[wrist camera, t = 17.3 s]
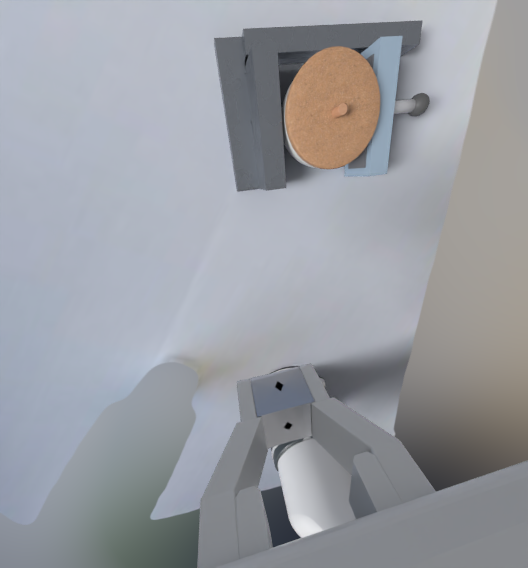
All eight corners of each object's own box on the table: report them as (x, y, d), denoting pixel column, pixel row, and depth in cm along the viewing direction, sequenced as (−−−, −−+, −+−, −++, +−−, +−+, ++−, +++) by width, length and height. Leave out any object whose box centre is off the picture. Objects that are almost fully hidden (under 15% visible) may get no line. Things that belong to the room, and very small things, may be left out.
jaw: (401, 168, 36) (435, 167, 30) (343, 176, 35) (367, 176, 29) (416, 59, 30) (461, 32, 25) (347, 63, 29) (379, 36, 23)
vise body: (387, 170, 36) (421, 169, 30) (236, 190, 33) (241, 193, 27) (403, 35, 29) (450, -1, 23) (214, 45, 26) (214, 7, 20)
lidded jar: (350, 154, 34) (395, 147, 25) (284, 182, 34) (307, 183, 25) (337, 63, 29) (387, 16, 20) (259, 94, 29) (277, 60, 20)
